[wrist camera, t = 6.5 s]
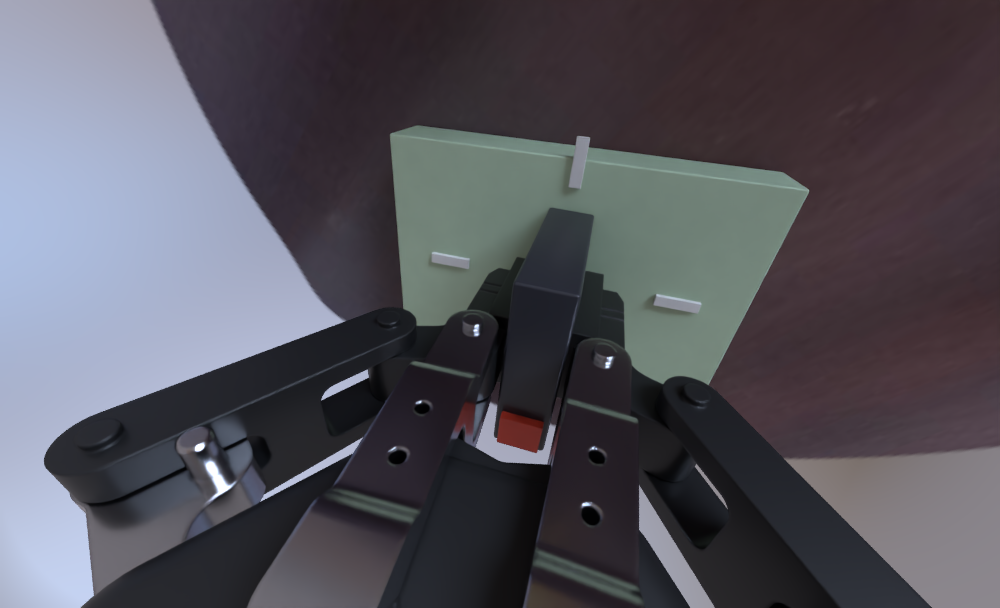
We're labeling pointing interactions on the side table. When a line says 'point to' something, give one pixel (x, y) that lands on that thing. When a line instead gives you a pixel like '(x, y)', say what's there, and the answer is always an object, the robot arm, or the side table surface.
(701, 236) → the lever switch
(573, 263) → the black box
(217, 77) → the side table surface
